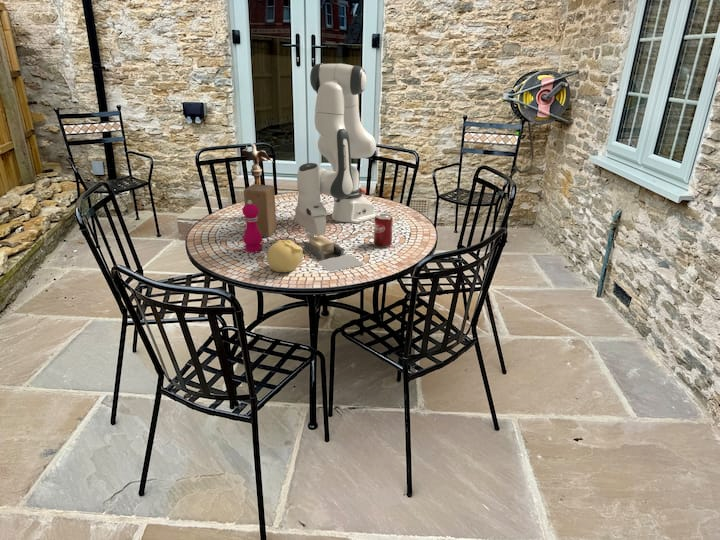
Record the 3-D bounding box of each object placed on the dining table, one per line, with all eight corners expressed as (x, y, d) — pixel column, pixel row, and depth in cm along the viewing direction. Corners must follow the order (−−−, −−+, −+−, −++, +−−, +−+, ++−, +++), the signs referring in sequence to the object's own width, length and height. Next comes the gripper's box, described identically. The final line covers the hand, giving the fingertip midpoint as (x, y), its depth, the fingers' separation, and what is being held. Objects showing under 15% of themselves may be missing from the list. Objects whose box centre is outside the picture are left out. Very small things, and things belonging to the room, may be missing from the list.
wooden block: (269, 238, 200) (265, 191, 192) (246, 236, 202) (242, 189, 193) (277, 230, 209) (274, 185, 201) (255, 228, 211) (252, 183, 202)
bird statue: (253, 209, 235) (247, 136, 221) (278, 211, 233) (274, 137, 219) (239, 220, 220) (232, 142, 206) (266, 222, 218) (261, 143, 204)
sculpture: (308, 268, 172) (307, 240, 168) (281, 278, 164) (279, 249, 160) (288, 259, 180) (287, 232, 175) (261, 268, 172) (259, 240, 167)
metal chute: (326, 245, 194) (325, 237, 192) (343, 256, 183) (343, 249, 182) (304, 249, 189) (304, 242, 188) (321, 261, 178) (321, 254, 177)
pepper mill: (242, 247, 190) (238, 198, 182) (260, 245, 192) (257, 196, 184) (246, 254, 184) (241, 203, 175) (264, 251, 186) (261, 201, 178)
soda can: (379, 249, 191) (380, 220, 186) (370, 243, 197) (371, 215, 192) (394, 246, 194) (396, 217, 189) (385, 240, 200) (387, 212, 195)
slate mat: (349, 256, 184) (349, 254, 183) (363, 265, 176) (363, 263, 176) (316, 263, 177) (316, 261, 176) (329, 273, 169) (329, 271, 169)
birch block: (322, 244, 192) (322, 235, 190) (333, 252, 185) (333, 242, 184) (309, 247, 189) (308, 238, 187) (319, 255, 182) (319, 245, 181)
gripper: (290, 200, 194) (292, 232, 200) (314, 214, 179) (314, 248, 184) (304, 198, 197) (305, 230, 203) (328, 211, 182) (329, 245, 187)
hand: (310, 239), depth 194 cm, fingers closed
